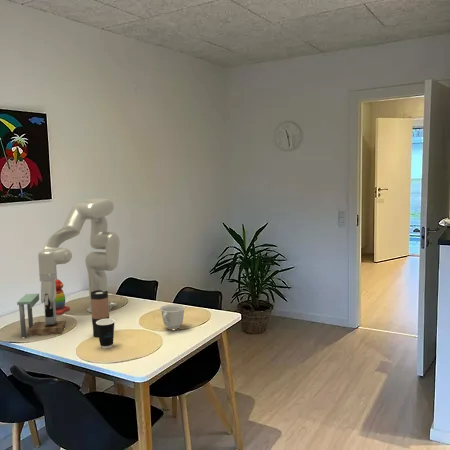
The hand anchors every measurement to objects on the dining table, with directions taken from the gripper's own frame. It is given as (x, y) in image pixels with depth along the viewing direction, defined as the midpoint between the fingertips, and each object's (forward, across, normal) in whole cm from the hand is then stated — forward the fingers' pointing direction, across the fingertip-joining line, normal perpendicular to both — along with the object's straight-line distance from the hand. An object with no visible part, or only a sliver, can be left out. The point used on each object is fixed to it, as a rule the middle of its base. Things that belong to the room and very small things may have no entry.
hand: (50, 315), depth 219 cm
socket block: (+8, 0, -2) cm, 8 cm away
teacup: (+8, +9, +56) cm, 57 cm away
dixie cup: (+8, +25, +28) cm, 38 cm away
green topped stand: (+8, 0, -9) cm, 12 cm away
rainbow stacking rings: (+8, -31, -4) cm, 32 cm away
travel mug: (+8, +10, +24) cm, 27 cm away
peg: (+4, 0, 0) cm, 4 cm away
